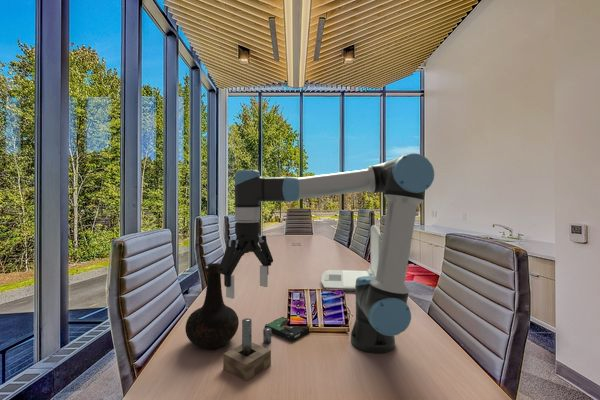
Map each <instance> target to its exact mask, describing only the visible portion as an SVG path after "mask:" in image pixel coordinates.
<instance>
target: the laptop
mask: <svg viewBox="0 0 600 400" xmlns="http://www.w3.org/2000/svg"><path fill="white" fill-rule="evenodd" d="M369 231H370V233H369V234H370V235H369V236H370V237H369V238H370V242H369V244H370V245H369V246H370V256H369V257H370V263H369V264H370V268H368V269H367V270H359V269H358V270H356V269H353V270H352V269H326V270H325V271H324V272H323V273H321V279H320V282H321V284H322V286H323V287H324V288H325V289H326V290H328V289H344V290H345V291H344V292H356V287H355V285H356V279H357V278H359V277H363V276H376V272H377V266H378V260H379V254H380V248H381V242H382V234H381V232H380V229H379V227H378V226H376V225H375V224H373V225H371V226H370V229H369Z"/></svg>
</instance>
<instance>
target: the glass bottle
mask: <svg viewBox="0 0 600 400" xmlns="http://www.w3.org/2000/svg"><path fill="white" fill-rule="evenodd" d="M220 264H221V262H220V263H219V262H216V263H213V262H210V263H208V264H207V267H206V268H205V272H207V278H206V279H207V280H206V281H207V282H206V291H205V297H204V301H203V304H202V306H201V307H199V308H196V309H195V310H193V312H191V313H190V315H189V316H188V318H187V320H186V323H185V328H184V329H185V334H186V337H187V339H188V340H189V342H191V344H193V345H194V346H196V347H199V348H201V349H205V350H212V349H213V350H214V349H218V348H220V347H224V346H226V344H228V343H229V342H230V341H231V340H233V337H234V336H235V335H236V334H237V331H238V329H239V325H240V324H239V322H240V321H239V316H238V315H237V312H236V311H235V310H234V309H233V308H231V307H230V306H227V305H226V304H225V302H224V297H223V292H222V291H223V289H222V277H221V275H222V274H219V273H218V269H219V267H220Z"/></svg>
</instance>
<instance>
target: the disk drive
mask: <svg viewBox="0 0 600 400" xmlns="http://www.w3.org/2000/svg"><path fill="white" fill-rule="evenodd" d="M287 319H288V318H286V317H284V316H281V317H279V318H277V319H275V320H273V321H270V322H268V323H266V324H265V325H264V328H271V335H272V334H273V335H274V336H276V337H279V338H281V339H284V340H286V341H288V342H291V343H293V342H295V341H297V340H299V339H300V338H303V337H304V336H306V335H307V334H310V333H309V332H311V330H310V331H309V328H310V329H311V327H310V326H309V325H306V327H288V325H287Z"/></svg>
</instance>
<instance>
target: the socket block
mask: <svg viewBox="0 0 600 400" xmlns="http://www.w3.org/2000/svg"><path fill="white" fill-rule="evenodd" d="M222 355H223V357H222V359H223V361H222V363H223V367H222V368H223V370H225V371H226V372H229V373H231V374H233V375H235V376H237V377H238V378H240V379H242V380H244V381H245V382H247V381H248V380H250V379H252V378H253V377H254V376H257V375H258V374H259V373H261V372H263V371H264V370H265V369H267V368H269V367H270V366H271V365H272V356H271V355H272V350H271V349H269V348H266V347H264V346H262V345H259V344H257V343H254V342H252V354H251V355H249V356H247V357H246V356H244V355H242V343H241V344H238V345H237V346H235V347H233V348H232V349H230V350H228V351H226V352H223V353H222Z"/></svg>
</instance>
